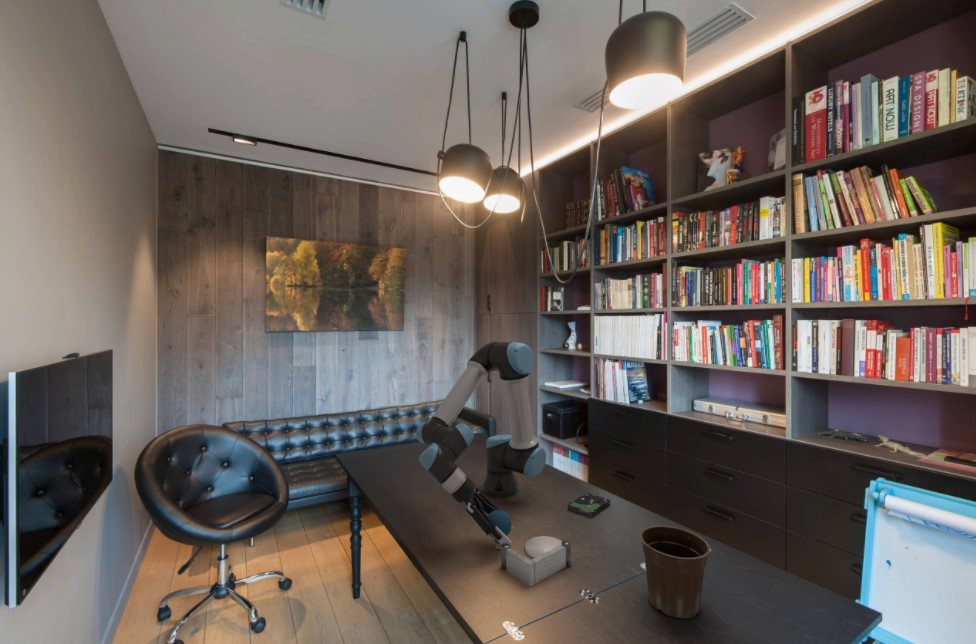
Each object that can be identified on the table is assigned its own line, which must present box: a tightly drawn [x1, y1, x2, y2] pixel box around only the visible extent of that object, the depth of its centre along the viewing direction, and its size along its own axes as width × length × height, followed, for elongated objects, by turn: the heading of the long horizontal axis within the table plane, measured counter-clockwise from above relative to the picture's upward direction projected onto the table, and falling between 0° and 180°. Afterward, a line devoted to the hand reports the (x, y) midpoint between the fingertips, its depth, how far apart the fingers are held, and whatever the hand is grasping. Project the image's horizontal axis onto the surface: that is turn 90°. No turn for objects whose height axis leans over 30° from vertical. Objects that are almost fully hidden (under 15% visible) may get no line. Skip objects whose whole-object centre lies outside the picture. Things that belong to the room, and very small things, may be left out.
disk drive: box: [567, 492, 611, 519], centre depth 163 cm, size 10×3×15 cm
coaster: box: [524, 535, 563, 559], centre depth 133 cm, size 13×13×1 cm
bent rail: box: [500, 539, 572, 588], centre depth 125 cm, size 18×13×6 cm
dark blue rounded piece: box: [487, 509, 513, 550], centre depth 134 cm, size 8×8×12 cm
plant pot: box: [639, 525, 711, 620], centre depth 108 cm, size 16×16×16 cm
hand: (509, 537), depth 134 cm, fingers closed on dark blue rounded piece, 8 cm apart
